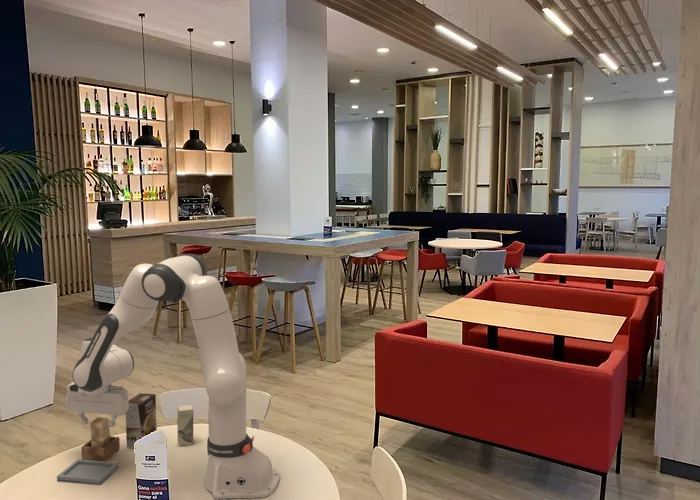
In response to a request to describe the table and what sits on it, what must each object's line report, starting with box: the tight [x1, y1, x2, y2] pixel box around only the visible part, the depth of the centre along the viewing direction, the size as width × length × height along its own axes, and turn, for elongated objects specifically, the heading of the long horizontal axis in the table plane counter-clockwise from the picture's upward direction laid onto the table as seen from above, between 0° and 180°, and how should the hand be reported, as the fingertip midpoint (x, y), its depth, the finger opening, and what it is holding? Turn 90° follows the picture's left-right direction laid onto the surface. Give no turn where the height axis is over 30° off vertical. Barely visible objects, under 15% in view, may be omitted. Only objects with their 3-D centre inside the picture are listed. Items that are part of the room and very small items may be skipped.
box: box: [176, 404, 194, 447], centre depth 185 cm, size 5×4×13 cm
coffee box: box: [125, 392, 158, 449], centre depth 185 cm, size 9×6×16 cm
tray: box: [56, 458, 120, 486], centre depth 165 cm, size 14×10×2 cm
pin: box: [89, 416, 111, 448], centre depth 176 cm, size 4×4×12 cm
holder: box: [81, 436, 121, 462], centre depth 177 cm, size 8×8×4 cm
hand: (98, 425), depth 176 cm, fingers open, 8 cm apart
